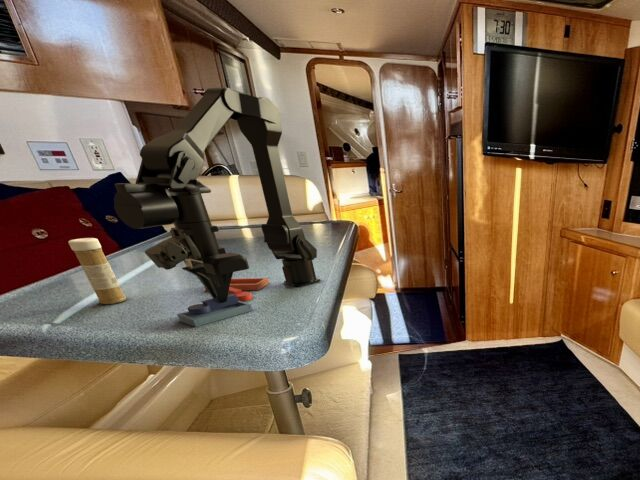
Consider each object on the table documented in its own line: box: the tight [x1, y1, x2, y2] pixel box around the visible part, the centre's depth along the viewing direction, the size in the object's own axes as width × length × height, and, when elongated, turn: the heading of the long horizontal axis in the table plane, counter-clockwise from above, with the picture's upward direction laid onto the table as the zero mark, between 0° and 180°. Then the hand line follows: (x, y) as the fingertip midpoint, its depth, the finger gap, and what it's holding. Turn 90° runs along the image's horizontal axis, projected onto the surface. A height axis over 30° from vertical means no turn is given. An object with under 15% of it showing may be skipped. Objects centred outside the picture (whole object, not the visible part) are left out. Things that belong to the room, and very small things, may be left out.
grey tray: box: [176, 301, 254, 328], centre depth 82 cm, size 11×6×1 cm, turn 150°
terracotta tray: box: [204, 277, 270, 292], centre depth 100 cm, size 12×6×1 cm, turn 96°
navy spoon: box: [186, 294, 239, 315], centre depth 81 cm, size 9×4×2 cm, turn 150°
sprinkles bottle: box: [67, 237, 127, 305], centre depth 86 cm, size 5×5×14 cm
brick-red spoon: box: [228, 287, 253, 302], centre depth 93 cm, size 9×4×2 cm, turn 60°
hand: (221, 301), depth 82 cm, fingers closed on navy spoon, 2 cm apart
